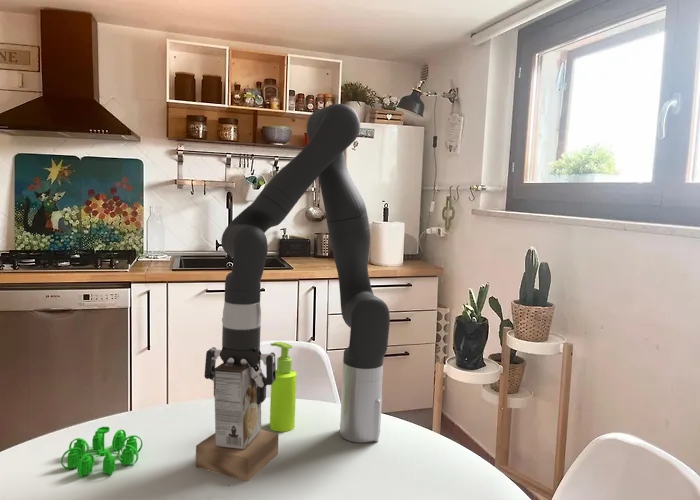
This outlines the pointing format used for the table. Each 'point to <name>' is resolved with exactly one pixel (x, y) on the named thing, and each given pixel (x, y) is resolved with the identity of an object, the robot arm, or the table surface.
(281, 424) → the soap dispenser
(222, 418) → the coffee box
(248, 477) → the walnut block
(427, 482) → the table surface
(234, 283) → the robot arm
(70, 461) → the chandelier
